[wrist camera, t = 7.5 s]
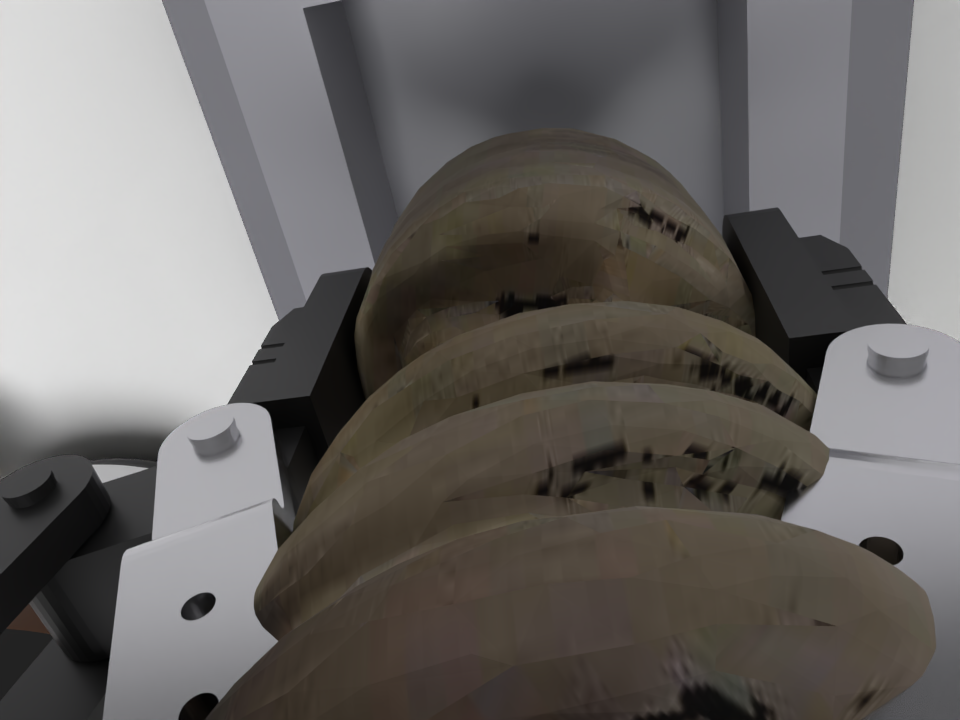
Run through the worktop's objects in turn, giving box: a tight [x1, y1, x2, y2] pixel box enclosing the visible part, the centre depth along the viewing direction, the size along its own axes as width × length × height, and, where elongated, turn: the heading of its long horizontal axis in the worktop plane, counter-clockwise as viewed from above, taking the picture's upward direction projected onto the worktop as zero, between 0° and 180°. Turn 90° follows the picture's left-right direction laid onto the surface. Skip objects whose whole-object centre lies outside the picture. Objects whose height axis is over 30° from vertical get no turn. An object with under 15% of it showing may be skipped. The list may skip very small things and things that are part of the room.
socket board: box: [162, 0, 914, 321], centre depth 18 cm, size 16×14×4 cm
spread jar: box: [0, 458, 157, 701], centre depth 23 cm, size 12×11×12 cm
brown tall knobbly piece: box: [205, 128, 936, 720], centre depth 10 cm, size 6×6×15 cm
